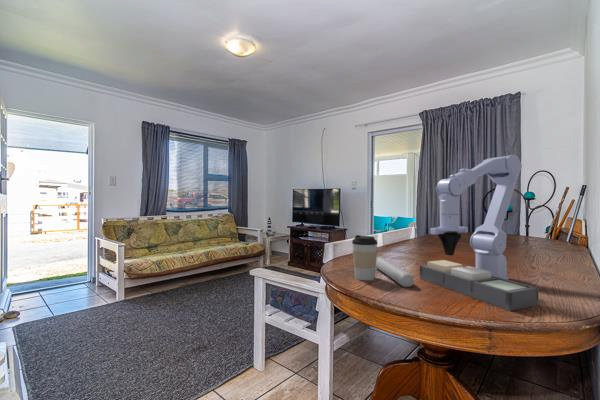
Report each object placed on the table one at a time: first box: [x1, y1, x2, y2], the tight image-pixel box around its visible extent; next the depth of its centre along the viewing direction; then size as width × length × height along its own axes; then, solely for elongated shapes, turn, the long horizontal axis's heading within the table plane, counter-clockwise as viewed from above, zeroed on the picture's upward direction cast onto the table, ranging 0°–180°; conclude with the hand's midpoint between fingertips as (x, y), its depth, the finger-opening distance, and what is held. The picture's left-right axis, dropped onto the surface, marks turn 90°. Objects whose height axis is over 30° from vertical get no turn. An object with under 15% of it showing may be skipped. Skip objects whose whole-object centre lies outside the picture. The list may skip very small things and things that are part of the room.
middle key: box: [451, 265, 491, 281], centre depth 89 cm, size 8×8×2 cm
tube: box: [375, 256, 415, 288], centre depth 104 cm, size 5×5×25 cm
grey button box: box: [419, 264, 539, 312], centre depth 89 cm, size 11×31×5 cm, turn 19°
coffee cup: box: [351, 234, 378, 281], centre depth 103 cm, size 9×9×15 cm
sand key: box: [426, 259, 464, 272], centre depth 98 cm, size 8×8×2 cm
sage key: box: [480, 280, 527, 291], centre depth 80 cm, size 8×8×2 cm
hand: (449, 254), depth 96 cm, fingers closed
